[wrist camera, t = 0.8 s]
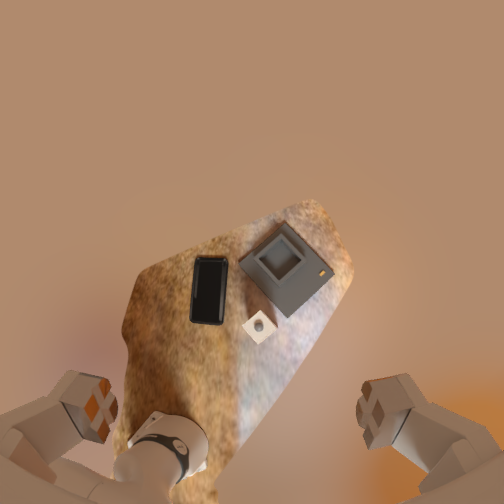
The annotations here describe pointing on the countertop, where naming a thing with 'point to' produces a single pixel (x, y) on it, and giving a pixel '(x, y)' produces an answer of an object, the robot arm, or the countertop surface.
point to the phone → (209, 291)
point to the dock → (286, 270)
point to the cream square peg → (259, 327)
